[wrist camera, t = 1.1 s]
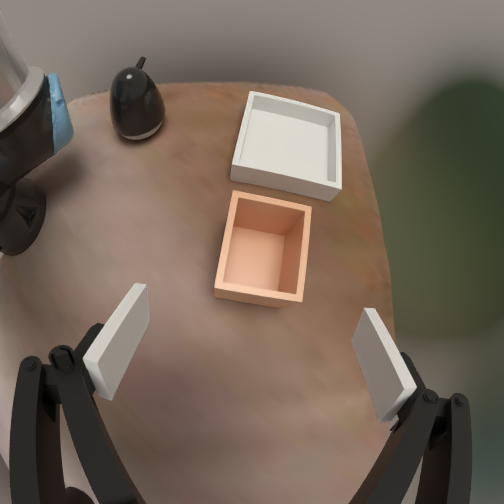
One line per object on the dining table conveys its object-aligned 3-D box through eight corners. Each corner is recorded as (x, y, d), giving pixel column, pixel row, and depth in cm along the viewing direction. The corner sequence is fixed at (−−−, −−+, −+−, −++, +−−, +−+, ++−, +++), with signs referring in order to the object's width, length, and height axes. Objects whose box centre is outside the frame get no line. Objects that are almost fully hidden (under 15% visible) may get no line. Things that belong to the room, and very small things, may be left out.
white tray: (229, 180, 46) (231, 164, 41) (246, 107, 51) (250, 90, 46) (330, 201, 47) (341, 189, 43) (330, 128, 52) (339, 113, 47)
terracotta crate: (214, 297, 40) (214, 287, 30) (228, 222, 44) (233, 190, 33) (279, 308, 41) (302, 302, 31) (289, 234, 45) (311, 206, 34)
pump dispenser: (176, 112, 48) (170, 54, 34) (154, 152, 45) (138, 93, 31) (133, 106, 48) (118, 51, 33) (109, 143, 45) (84, 89, 30)
